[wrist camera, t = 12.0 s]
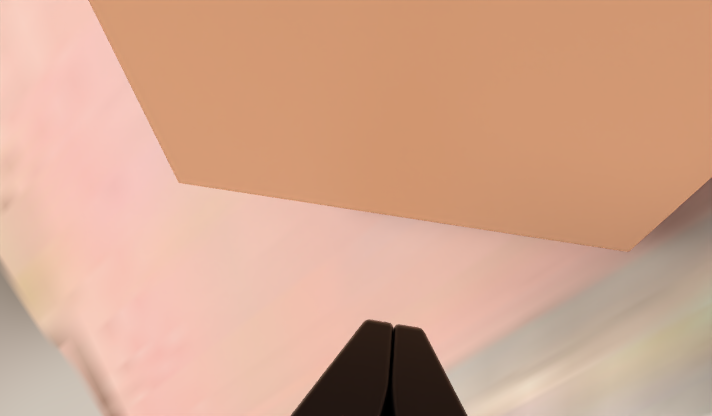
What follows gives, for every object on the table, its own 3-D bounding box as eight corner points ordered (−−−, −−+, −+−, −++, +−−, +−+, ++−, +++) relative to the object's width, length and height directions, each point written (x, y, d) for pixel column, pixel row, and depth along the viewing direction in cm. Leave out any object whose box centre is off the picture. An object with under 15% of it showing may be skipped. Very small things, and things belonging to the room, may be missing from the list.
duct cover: (625, 229, 16) (628, 251, 15) (187, 162, 16) (178, 182, 16) (935, -79, 7) (960, -47, 7) (36, -178, 8) (12, -155, 8)
